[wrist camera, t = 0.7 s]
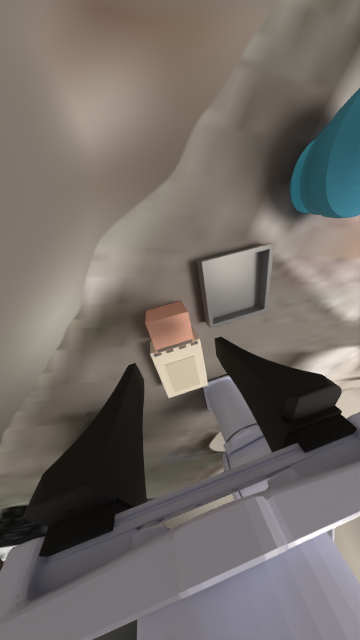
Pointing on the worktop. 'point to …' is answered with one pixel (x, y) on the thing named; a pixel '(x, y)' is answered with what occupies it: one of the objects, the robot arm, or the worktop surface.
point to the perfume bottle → (331, 167)
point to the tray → (235, 284)
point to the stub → (169, 326)
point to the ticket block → (181, 367)
